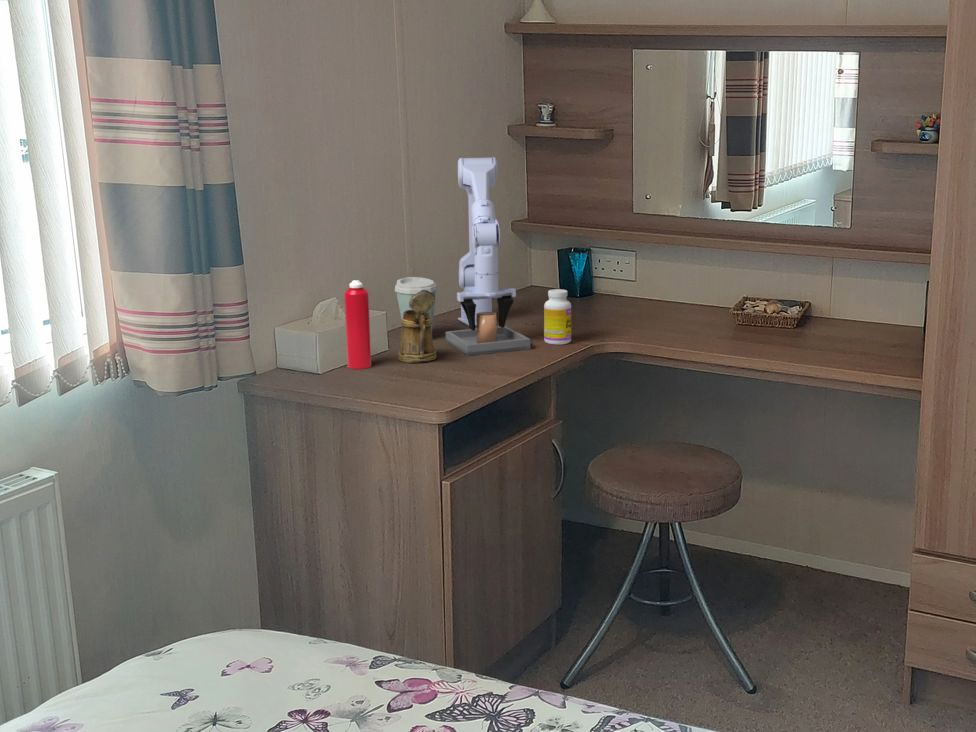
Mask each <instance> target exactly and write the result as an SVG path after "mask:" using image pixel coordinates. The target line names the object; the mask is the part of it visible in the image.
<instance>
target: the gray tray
mask: <svg viewBox="0 0 976 732" xmlns="http://www.w3.org/2000/svg"><path fill="white" fill-rule="evenodd" d="M445 342H446V343H447V344H449V345H451V346H452V347H454V348H455V349H457V350H458V351H460V352H461V353H463V354H465V355H466V356H467V357H469V356H470V357H471V356H478V355H479V356H480V355H488V354H498V353H507V352H515V351H517V352H518V351H526V350H527V351H528V350H531V338H530V337H527V336H526V335H524V334H522V333H520V332H518V331H516V330H514V329H512V328H510V327H509V326H507V325H505V327H500V326H499V325H498V326H497V342H487V343H477V330H476V328H475V330H471V329H470V328H469V329H460V330H449V331H445Z"/></svg>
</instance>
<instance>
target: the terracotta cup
mask: <svg viewBox="0 0 976 732" xmlns="http://www.w3.org/2000/svg"><path fill="white" fill-rule="evenodd" d="M497 316H498V314H497V312H495V311H492V312H479V313H476V326H475V329H476V330H477V343H487V342H497V327H498V317H497Z"/></svg>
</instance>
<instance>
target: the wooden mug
mask: <svg viewBox="0 0 976 732" xmlns="http://www.w3.org/2000/svg"><path fill="white" fill-rule="evenodd" d="M435 302H436V295H434V294H432V293H431V292H429V291H426V290H422V291H420V292H418V293H416V294H415V295H414V296H412V297H411V299H410V301H409V306H410V308H411V309H412V310H406V311H404V313H403V318H402V319H401V323H400V324H401V333H400V342H399V343H400V344H399V350H398V352H397V361H400V362H402V363H406V364H407V363H408V364H422V363H423V364H424V363H428V362H429V363H430V362H433V361H435V360H436V358H437V352H436V349H435V348H434V347H435V346H434V340H433V334H432V333H433V331H432V332H431V325H432V321H431V318H430V316H429V312H428V311H429V310H430V309H431V308H432V307H433V305H434V303H435ZM434 306H435V305H434Z"/></svg>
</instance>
